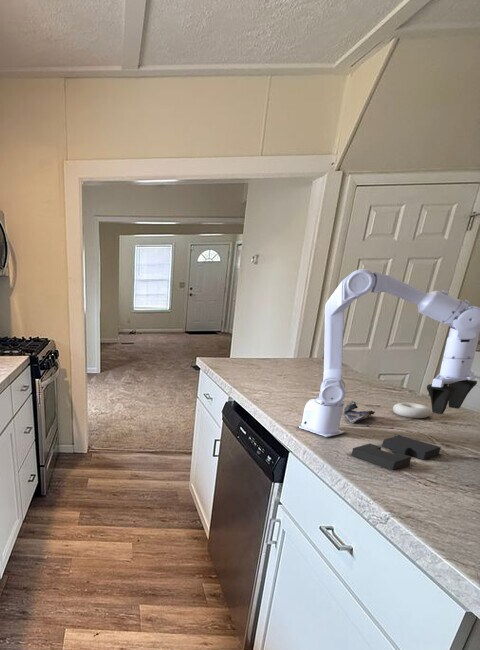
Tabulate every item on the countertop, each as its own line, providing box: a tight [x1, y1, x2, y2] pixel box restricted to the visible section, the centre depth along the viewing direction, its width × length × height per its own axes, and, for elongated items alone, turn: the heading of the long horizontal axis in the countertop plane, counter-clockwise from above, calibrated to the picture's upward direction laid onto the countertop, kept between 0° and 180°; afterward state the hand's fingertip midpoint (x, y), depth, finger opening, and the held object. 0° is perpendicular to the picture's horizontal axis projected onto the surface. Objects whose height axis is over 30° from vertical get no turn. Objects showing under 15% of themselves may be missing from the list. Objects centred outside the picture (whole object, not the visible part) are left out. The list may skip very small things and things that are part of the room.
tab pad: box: [381, 434, 442, 460], centre depth 104 cm, size 10×9×2 cm
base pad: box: [351, 443, 412, 471], centre depth 100 cm, size 10×7×2 cm
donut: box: [392, 401, 432, 419], centre depth 132 cm, size 10×4×10 cm
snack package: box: [343, 401, 376, 424], centre depth 129 cm, size 12×6×12 cm
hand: (445, 410), depth 103 cm, fingers open, 7 cm apart
